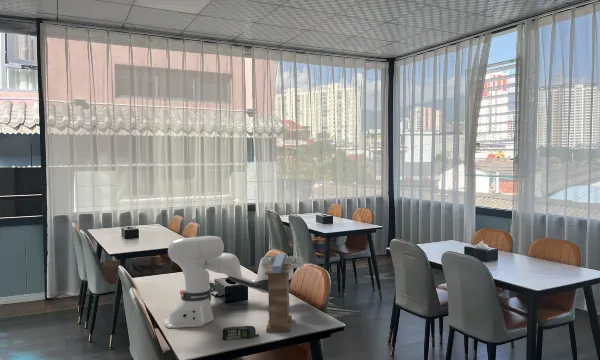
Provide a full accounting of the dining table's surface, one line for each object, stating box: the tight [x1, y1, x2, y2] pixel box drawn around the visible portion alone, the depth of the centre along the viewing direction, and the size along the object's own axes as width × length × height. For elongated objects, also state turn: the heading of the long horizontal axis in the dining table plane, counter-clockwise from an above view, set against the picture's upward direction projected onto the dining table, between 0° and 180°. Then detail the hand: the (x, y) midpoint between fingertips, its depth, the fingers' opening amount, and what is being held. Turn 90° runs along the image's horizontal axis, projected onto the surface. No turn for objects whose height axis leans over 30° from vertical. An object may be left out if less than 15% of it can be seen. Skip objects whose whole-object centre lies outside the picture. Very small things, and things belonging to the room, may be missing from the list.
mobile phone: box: [222, 325, 260, 341], centre depth 190 cm, size 5×3×15 cm
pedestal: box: [265, 264, 293, 333], centre depth 203 cm, size 16×10×26 cm, turn 177°
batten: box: [272, 253, 287, 273], centre depth 206 cm, size 26×4×3 cm, turn 177°
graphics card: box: [209, 280, 219, 298], centre depth 259 cm, size 10×3×25 cm
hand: (281, 257), depth 215 cm, fingers open, 8 cm apart
